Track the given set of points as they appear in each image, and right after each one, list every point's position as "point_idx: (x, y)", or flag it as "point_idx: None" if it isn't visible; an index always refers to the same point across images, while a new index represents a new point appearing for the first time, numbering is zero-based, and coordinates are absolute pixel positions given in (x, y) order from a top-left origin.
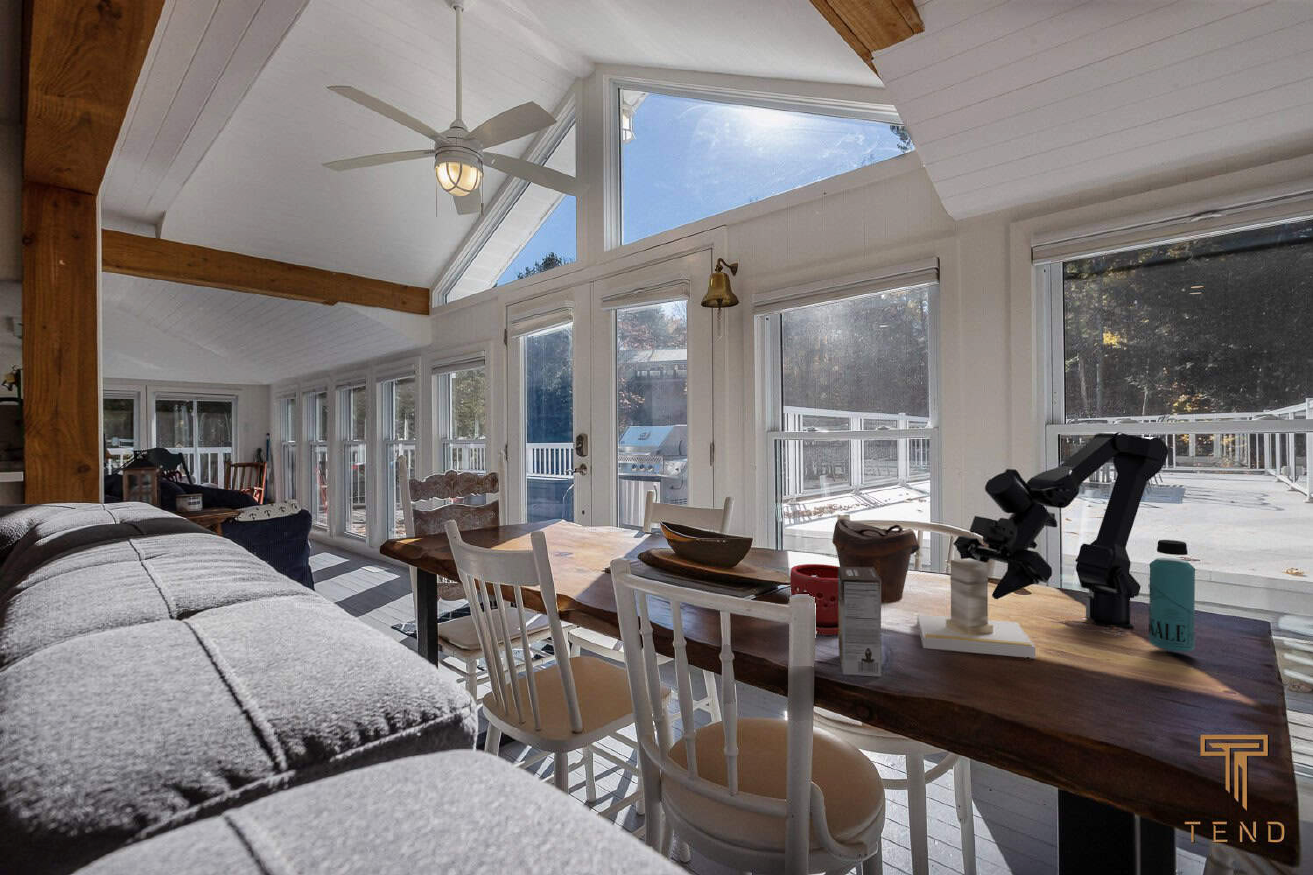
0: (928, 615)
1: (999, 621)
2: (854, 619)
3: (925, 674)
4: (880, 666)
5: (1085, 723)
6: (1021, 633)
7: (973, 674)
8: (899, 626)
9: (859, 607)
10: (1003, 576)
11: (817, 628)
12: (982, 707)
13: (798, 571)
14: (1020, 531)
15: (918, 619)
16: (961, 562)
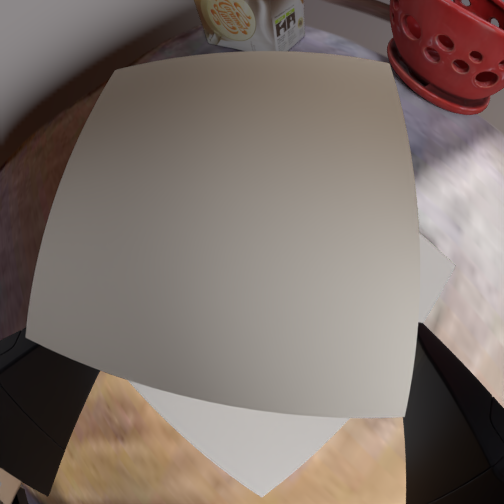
0: (440, 292)
1: (294, 464)
2: None
3: None
4: (204, 31)
5: (12, 181)
6: (177, 418)
7: None
8: (437, 213)
9: None
10: (19, 352)
11: (393, 37)
12: (83, 103)
13: (499, 10)
14: None
15: (419, 233)
16: (217, 65)
